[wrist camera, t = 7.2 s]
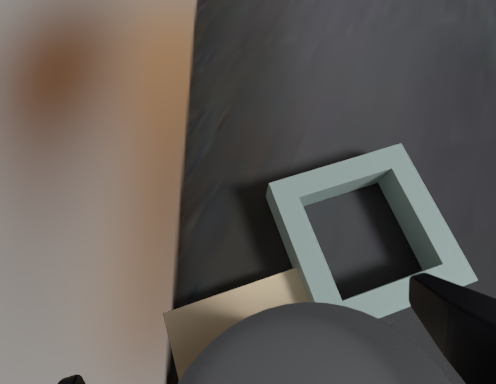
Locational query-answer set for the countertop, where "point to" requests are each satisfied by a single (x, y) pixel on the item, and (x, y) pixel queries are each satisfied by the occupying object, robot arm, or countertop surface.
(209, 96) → the countertop surface
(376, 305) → the socket
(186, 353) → the beige square plate
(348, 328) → the grey round peg
